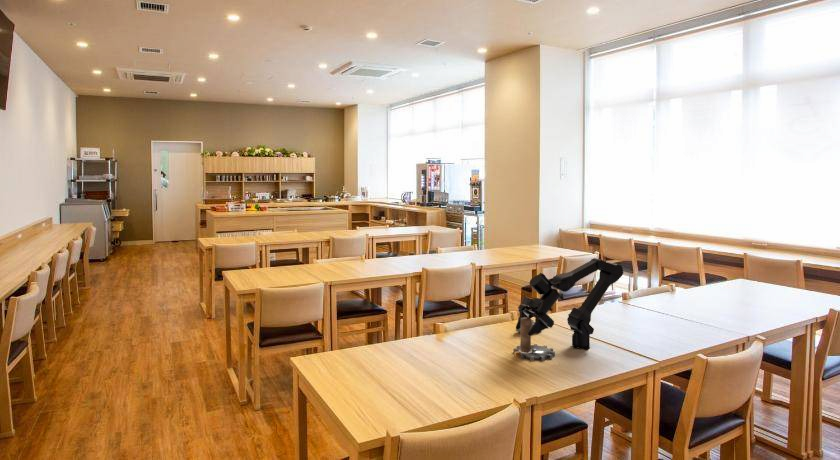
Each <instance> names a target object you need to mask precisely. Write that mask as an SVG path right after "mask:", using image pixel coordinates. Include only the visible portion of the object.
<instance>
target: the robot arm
mask: <svg viewBox="0 0 840 460" xmlns="http://www.w3.org/2000/svg"><path fill="white" fill-rule="evenodd" d="M597 271H599V278H598V280H597V281H596V283H595V284H594V286H593V287H592V289H591V291H590V292H589V293H588V295H587V296H586V298H585V299H584V301H583V303H581V306H579V307H572V309H571V311H570V312H569V313H568V314H567V316H568V317H567V319H566V321H567V325H568V326H569V328H570V330H571V331H573V333H572V335H571V337H572V338H571V344H572V347H573V348H574V349H583V350H584V349H585V350H591V347H590V346H591V343H590V339H591V338H590V337H591V335H593V333H594V331H595V329H594V327H593V326H592V325H591V324H590V323H591V320H592V319H591V318H592V313H593V311H594V310H595V308H596V307H597V306H598V304H599V302H600V301H601V299H602V298H603V297H604V295H605V293H607V290H608V289H609V287H610V286H611V285H613V284H615V283H616V282H618V281H619V280H620V278H622V276H623V275H624V267H623V266H622V265H620V264H617V263H613V262H607V261H605V260H603V259H601V258H596V257H594V258H591V259H590V260H589V261H587V262H585V263H584V264H582V265H580V266H578V267H576V268H574V269H572V270H571V271H569V272H568V271H567V272H562V273H559V274H557V275H554V276H553V277H552V278H548V277H546V275H545V274H544V273H542V272H539V273H538V274H536V275H535V276H533V277H532V278H531V279H530V280H529V285H530V287H531V288H533V290H534V291H535V292H536V293H537V294H538V295H541V296H540V297H533V298H531V297H528V296H527V295H524V296H523V297H522V299H521V300H522V301H521V303H520V304H519V305H518V306H517V309H518V313H519V316H518V318H519V320H517V323H516V325H515V330H516V329H517V330H518V329H519V328H521V318H524V317H527V318H531V319H532V318H535V321H534V322H535V323H534V325H533V326H532V328H531V329H530V331H529V333H528V335H529V336H531V337H532V336H533V335H535V334H537V333H539V332H542V331H545V330H546V329H549V328H550V329H552V328H553V327H554V325H555V320H553V318H552V317H551V316H549V315H548V313H549V311H550V312H552V311H553V308H552V307H553V306H554V305H555V304H556V302H557V301H558V300H560V301H564V300H565V298H564V293H566V292H568V291H570V290H571V289H572V288H573V287H575V286H576V283H577V282H578V281H580V280H582V279H584V278H586V277H588V276H589V275H591V274H593V273H594V272H597ZM561 291H562V292H561ZM563 292H564V293H563Z"/></svg>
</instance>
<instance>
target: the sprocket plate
mask: <svg viewBox="0 0 840 460" xmlns="http://www.w3.org/2000/svg"><path fill="white" fill-rule="evenodd" d="M513 354H514V356H515V357H520V360H530V361H531V362H534V361H537V360H538V361H541V362H544V361H545V360H547V359H548V360H552V359H553V357H556V351H554V348H552V347H551V348H550V347H548V346H547V345H538V343H537V344H536V343H533V344H532V345H531V352H521V351H520V345H517V346H516V348H513Z"/></svg>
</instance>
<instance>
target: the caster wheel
mask: <svg viewBox="0 0 840 460" xmlns="http://www.w3.org/2000/svg"><path fill="white" fill-rule="evenodd" d="M517 319H518V320H519V317H518V318H517ZM518 320H517V321H518ZM534 323H535V321H534V319H531V328H532V326H533V325H534ZM515 332H518V333H521V328H519V329H518V330H517V329H516V328H515Z"/></svg>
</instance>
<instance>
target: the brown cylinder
mask: <svg viewBox="0 0 840 460" xmlns="http://www.w3.org/2000/svg"><path fill="white" fill-rule="evenodd" d="M531 320H532V318H527V317H524V318H521V332H520V338H519V339H520V340H519V341H520V344H519V346H520V351H521V352H531V344H532V343H531V342H532V341H531V339H532V335H531V336H529V335H528V333H529V331H530V329H531Z"/></svg>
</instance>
